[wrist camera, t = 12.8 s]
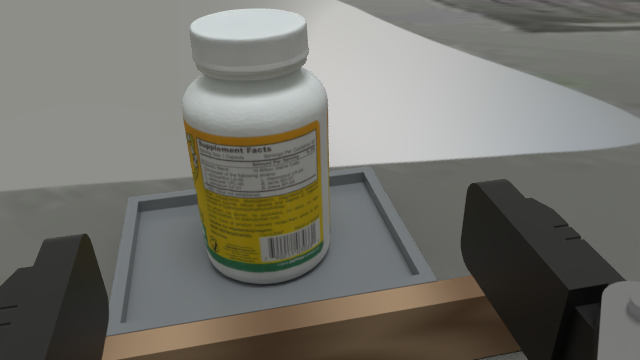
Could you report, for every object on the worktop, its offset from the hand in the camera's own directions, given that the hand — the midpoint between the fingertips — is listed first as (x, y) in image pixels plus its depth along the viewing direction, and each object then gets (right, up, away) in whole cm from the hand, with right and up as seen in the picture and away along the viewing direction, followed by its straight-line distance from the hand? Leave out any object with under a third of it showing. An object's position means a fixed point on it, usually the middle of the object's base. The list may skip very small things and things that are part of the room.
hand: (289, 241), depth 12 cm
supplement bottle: (-2, -2, +12) cm, 12 cm away
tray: (-2, -2, +12) cm, 13 cm away
